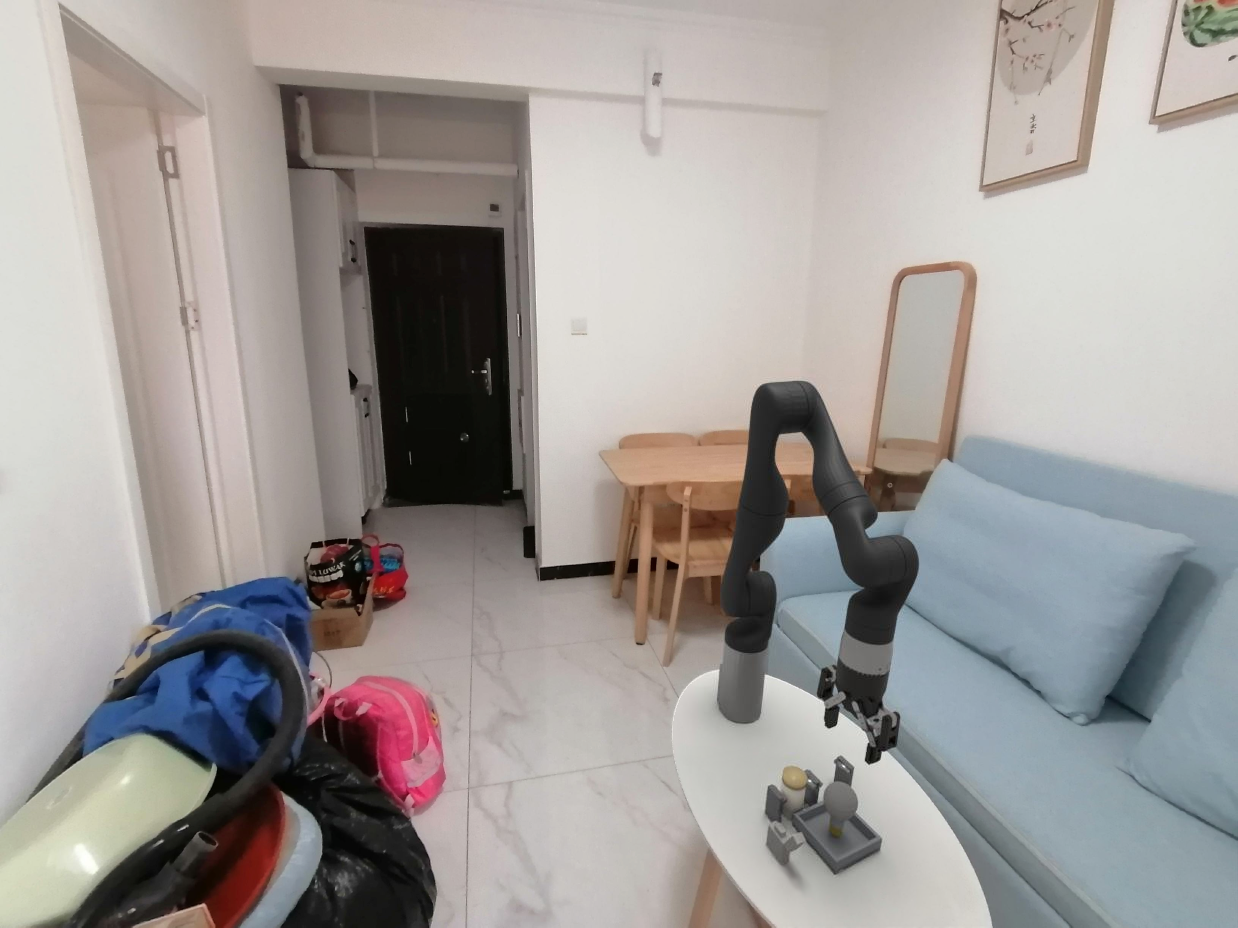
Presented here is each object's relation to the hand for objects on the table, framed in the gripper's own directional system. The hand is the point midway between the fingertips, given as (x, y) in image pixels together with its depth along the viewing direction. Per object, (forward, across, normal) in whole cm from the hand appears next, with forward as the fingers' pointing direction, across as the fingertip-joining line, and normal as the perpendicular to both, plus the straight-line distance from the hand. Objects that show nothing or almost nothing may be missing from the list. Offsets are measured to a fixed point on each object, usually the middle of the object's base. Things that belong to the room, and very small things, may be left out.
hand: (850, 743), depth 98 cm
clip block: (+19, -7, +1) cm, 21 cm away
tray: (+19, 0, 0) cm, 19 cm away
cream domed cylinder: (+19, -7, -3) cm, 21 cm away
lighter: (+20, 0, -11) cm, 23 cm away
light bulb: (+19, 0, 0) cm, 19 cm away
